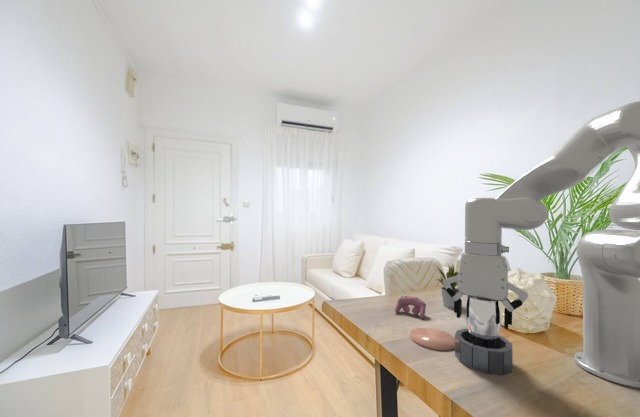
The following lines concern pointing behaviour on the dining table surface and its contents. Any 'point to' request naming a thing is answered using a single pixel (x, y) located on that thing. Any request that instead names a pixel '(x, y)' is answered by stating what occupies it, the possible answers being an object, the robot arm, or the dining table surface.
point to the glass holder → (484, 355)
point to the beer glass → (483, 321)
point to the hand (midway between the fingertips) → (481, 321)
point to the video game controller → (410, 300)
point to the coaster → (433, 339)
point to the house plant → (446, 297)
